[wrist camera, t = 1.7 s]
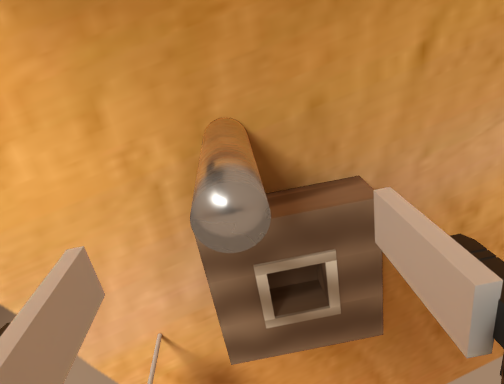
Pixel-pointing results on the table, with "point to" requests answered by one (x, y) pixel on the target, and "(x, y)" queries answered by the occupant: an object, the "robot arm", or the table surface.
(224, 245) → the pin
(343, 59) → the table surface
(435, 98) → the table surface
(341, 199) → the bore block
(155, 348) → the lollipop
